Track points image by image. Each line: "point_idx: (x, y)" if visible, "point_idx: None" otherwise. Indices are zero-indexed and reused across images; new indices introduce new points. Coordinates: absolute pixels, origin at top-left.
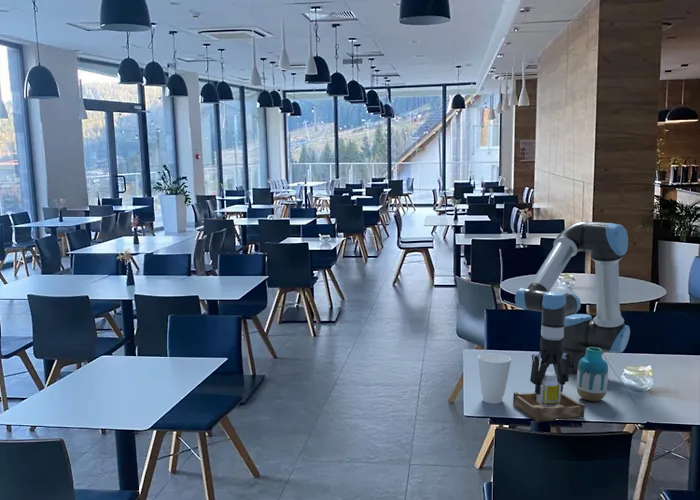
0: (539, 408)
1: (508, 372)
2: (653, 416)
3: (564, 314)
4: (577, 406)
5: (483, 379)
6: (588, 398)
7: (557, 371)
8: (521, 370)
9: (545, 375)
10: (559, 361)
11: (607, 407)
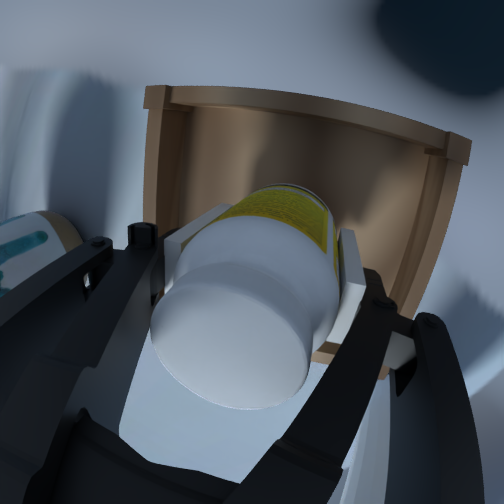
0: (457, 137)
1: (376, 479)
2: (20, 84)
3: None
4: (185, 93)
5: None
6: (75, 231)
7: (123, 332)
8: (157, 447)
9: (309, 355)
10: (8, 407)
11: (59, 171)
